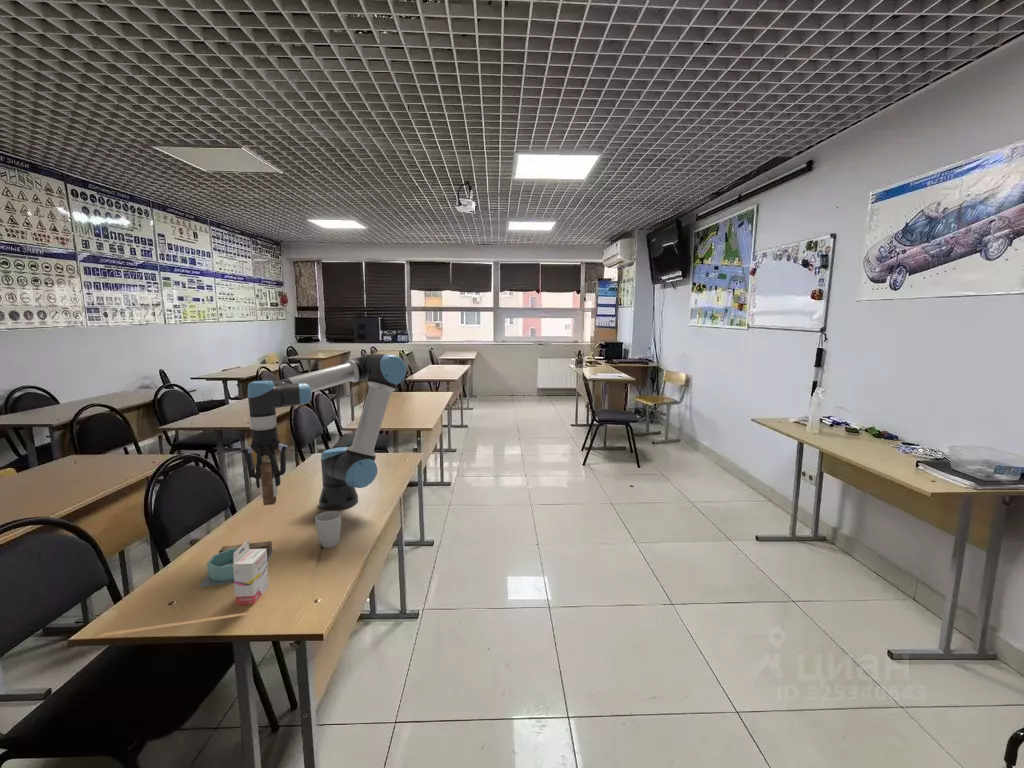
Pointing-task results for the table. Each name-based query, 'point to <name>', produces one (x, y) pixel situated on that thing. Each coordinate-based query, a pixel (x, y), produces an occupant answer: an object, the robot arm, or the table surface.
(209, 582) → the slate board
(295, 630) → the table surface
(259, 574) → the ink cartridge box
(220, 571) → the teal octagonal bowl
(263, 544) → the long wooden bar
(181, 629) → the table surface
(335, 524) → the cup
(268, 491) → the brown wooden block
